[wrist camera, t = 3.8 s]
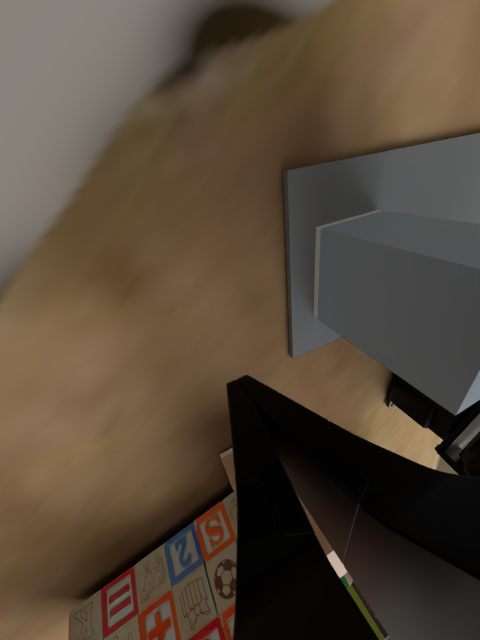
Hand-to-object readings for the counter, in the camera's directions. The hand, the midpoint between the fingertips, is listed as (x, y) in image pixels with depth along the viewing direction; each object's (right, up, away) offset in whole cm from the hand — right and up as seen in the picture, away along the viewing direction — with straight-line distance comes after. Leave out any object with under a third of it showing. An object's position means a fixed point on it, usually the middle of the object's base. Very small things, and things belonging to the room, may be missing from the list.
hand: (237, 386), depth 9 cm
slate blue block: (+7, +6, +7) cm, 11 cm away
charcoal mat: (+11, +8, +9) cm, 16 cm away
